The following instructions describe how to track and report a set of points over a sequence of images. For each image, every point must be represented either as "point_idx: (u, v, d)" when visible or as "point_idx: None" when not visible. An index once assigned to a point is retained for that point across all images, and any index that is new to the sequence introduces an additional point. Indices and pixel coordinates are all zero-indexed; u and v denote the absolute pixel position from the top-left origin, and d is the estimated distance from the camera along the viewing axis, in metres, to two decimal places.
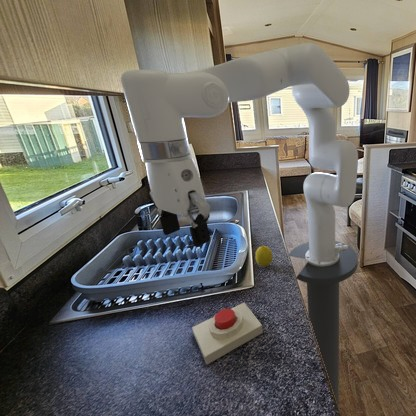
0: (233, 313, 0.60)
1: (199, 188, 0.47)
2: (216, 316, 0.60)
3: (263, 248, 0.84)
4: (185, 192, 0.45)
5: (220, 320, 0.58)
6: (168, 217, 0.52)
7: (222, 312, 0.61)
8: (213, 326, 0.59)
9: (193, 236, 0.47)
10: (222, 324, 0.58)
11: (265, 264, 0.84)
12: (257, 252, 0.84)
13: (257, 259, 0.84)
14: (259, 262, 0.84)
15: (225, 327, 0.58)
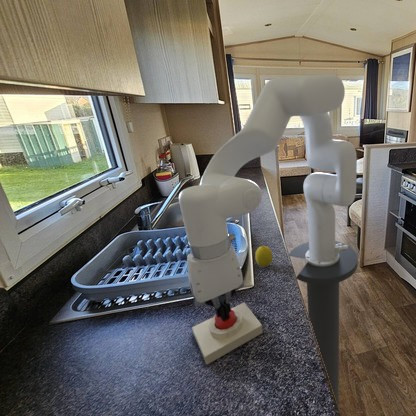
0: (233, 313, 0.60)
1: None
2: (216, 317, 0.60)
3: (263, 248, 0.84)
4: None
5: (220, 321, 0.59)
6: None
7: None
8: (213, 326, 0.59)
9: (228, 310, 0.58)
10: (222, 324, 0.58)
11: (265, 264, 0.84)
12: (257, 252, 0.84)
13: (257, 259, 0.84)
14: (259, 262, 0.84)
15: (225, 327, 0.59)
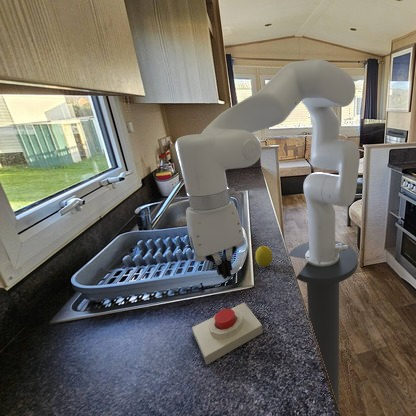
0: (233, 313, 0.60)
1: None
2: (216, 316, 0.60)
3: (263, 248, 0.84)
4: None
5: (220, 320, 0.58)
6: None
7: (222, 312, 0.61)
8: (213, 326, 0.59)
9: (229, 268, 0.57)
10: (222, 324, 0.58)
11: (265, 264, 0.84)
12: (257, 252, 0.84)
13: (257, 259, 0.84)
14: (259, 262, 0.84)
15: (225, 327, 0.58)
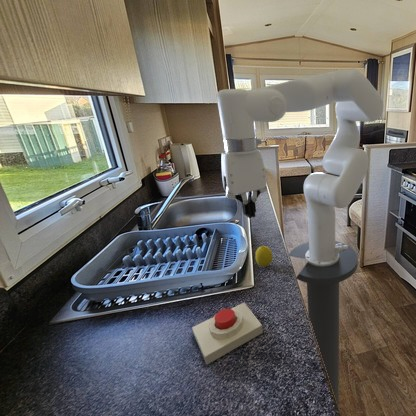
0: (233, 313, 0.60)
1: None
2: (216, 316, 0.60)
3: (263, 248, 0.84)
4: None
5: (220, 320, 0.58)
6: None
7: (222, 312, 0.61)
8: (213, 326, 0.59)
9: (254, 209, 0.68)
10: (222, 324, 0.58)
11: (265, 264, 0.84)
12: (257, 252, 0.84)
13: (257, 259, 0.84)
14: (259, 262, 0.84)
15: (225, 327, 0.58)
